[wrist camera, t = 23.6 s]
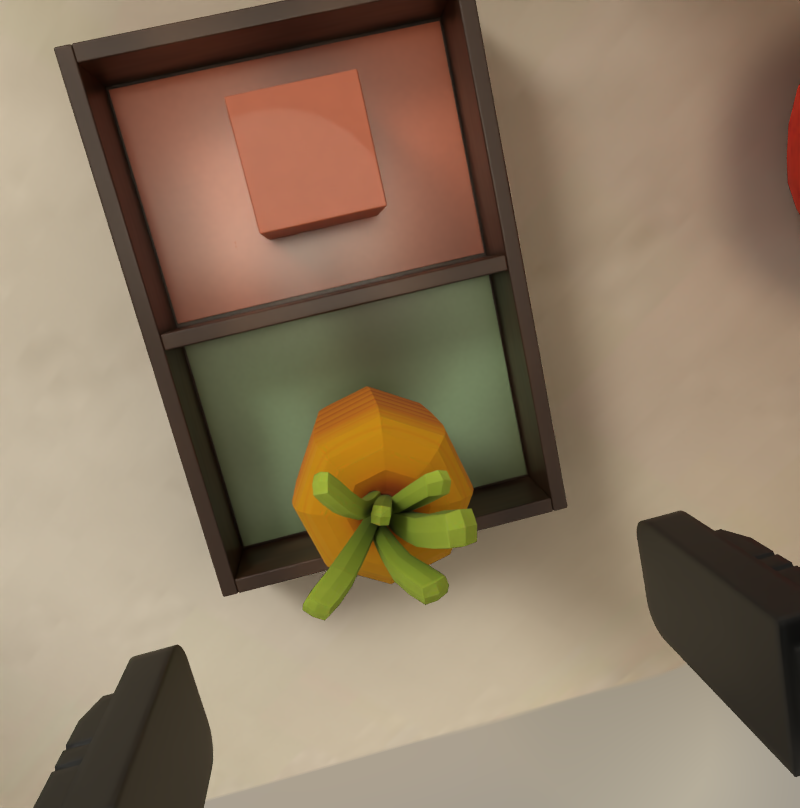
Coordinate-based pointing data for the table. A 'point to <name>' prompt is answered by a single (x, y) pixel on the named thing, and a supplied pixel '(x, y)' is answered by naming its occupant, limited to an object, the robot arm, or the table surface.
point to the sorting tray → (317, 261)
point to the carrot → (381, 497)
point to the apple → (794, 151)
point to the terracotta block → (307, 154)
